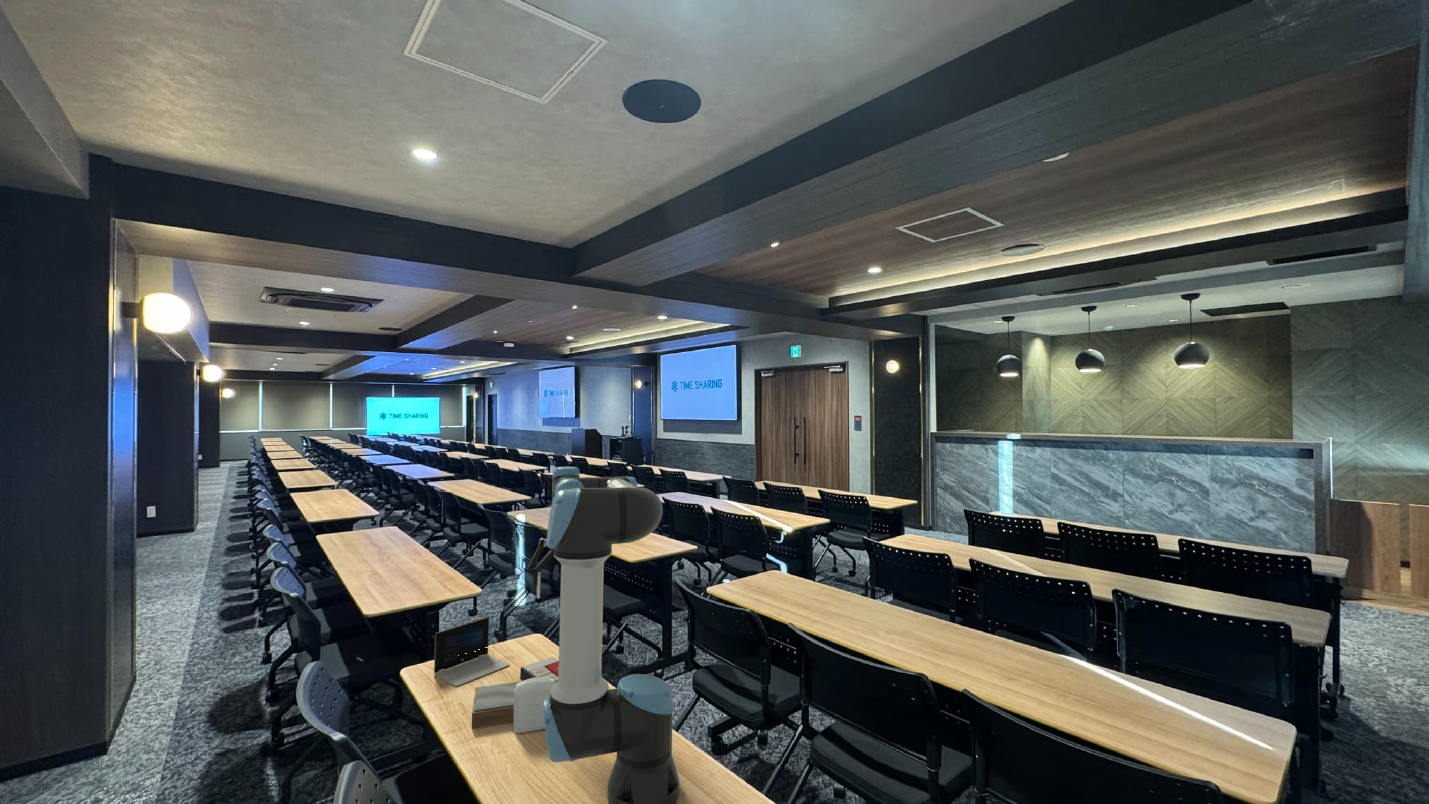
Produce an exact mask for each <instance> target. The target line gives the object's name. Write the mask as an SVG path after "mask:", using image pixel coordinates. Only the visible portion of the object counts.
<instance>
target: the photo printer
mask: <svg viewBox="0 0 1429 804" xmlns="http://www.w3.org/2000/svg"><path fill="white" fill-rule="evenodd" d="M521 681H522V682H521ZM521 681H519V682H520V683H518V684H516V688H515V692H514V723H513V732H514V734H521V733H529V732H535V731H539V730H545V721H544V712H543V700H544V699H547V698H548V697H549V698H550V691H551V688H552V686H553V685H554V684H555V683H554V679H552V678H547V677H538V678H531V679H527V680H524V681H523V680H521Z"/></svg>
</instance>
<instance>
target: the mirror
mask: <svg viewBox="0 0 1429 804" xmlns="http://www.w3.org/2000/svg"><path fill="white" fill-rule="evenodd" d="M522 681H523V680H521V681H515V682H508V683H500V684H493V685H492V684H491V685H484V686H477V687H475V688H474V689H475V690H474V698H473V705H472V712H471V730H475V729H476V730H477V729H482V728H488V727H494V726H495V727H496V726H502V725H508V724H514V692H515V688H516V684H518V683H520V682H522Z"/></svg>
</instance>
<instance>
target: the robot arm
mask: <svg viewBox="0 0 1429 804" xmlns="http://www.w3.org/2000/svg"><path fill="white" fill-rule="evenodd" d="M551 480H552V482H551V483H552V488H551V489H552V490H551V491H552V493H551V498H552V499H551V507H550V511H549V512H550V513H549V518H548V525H547V536H546V538H544V537H540V538H539V540H538V541H539V542H538V546H537V549H535V552H534V554H533V556H532V557H531V560H530V561H529V564H528V565H527V567H526V572H527V573H528V574H532V584H533V587H536V599H540V598H541V571H542V569H543V568H545V566H546V565H547V563H548V562H549V561H550V560H551V559H552V558H553V557H554V558H555V559H556V560H557V561H558V562H559V564H560V566H561V567H560V599H559V601H560V602H559V641H558V642H559V643H558V646H559V647H558V661H559V676H558V681H557V682H556V683H555V684H554V685H553V686H552V688H551V691H550V698H549V697H548V698H547V699H544V700H543V712H544V721H545V729H544V731H545V739H546V747H547V748H546V749H547V756H548V758H549V760H550V761H552V762H553V763H562V762H563V763H564V762H574V761H577V760H582V759H587V758H593V757H597V756H599V757H600V756H603V755H608V754H613V753H616V758H615V760H614V764H613V767H612V769H611V772H610V775H609V779H608V782H607V788H606V789H607V794H606V798H607V801H608V804H674V803H676V802H677V801H676V800H678V799H677V798H679V795H680V778H679V774H678V770H677V767H676V765H675V764H676V763H675V761H674V757H673V751H672V750H673V747H672V745H673V717H674V716H673V714H674V713H673V712H674V708H675V707H674V703H673V701H674V700H673V699H674V698H673V690H672V688H671V686H670V685H669V683H667V681H665V680H664V679H662V678H660V677H657V676H654V675H650V674H643V673H642V674H640V673H636V674H635V673H634V674H633V673H631V674H629V675H626V676H623V677H622V678H620V679H619V681H618V683H617V686H616V688H611V689H610V688H609V682H608V681H607V680H606V679H605V678H603V676H602V662H603V661H602V659H603V658H602V657H603V620H604V619H603V615H604V612H603V610H604V576H605V575H604V573H605V572H604V570H605V569H604V566H605V562H606V561H607V559H608V558H610V557H611V555H612V553H613V551H612V547H613V545H619V544H620V545H621V544H629V543H630V544H631V543H633V542H637V541H640V540H642V539H644V538H646V537H647V536H649V535H650V534H652V533H653V531H655V530H656V529H657V528H658V526H659V524H660V522H661V520H662V517H663V510H664V509H663V503H662V501H661V499H660V497H659V496H658V495H657V494H656V493H655V492H654V491H652V490H651V489H649V488H647V487H642V486H638V482H637V479H636V478H635V477H633V476H626V475H625V476H624V475H622V476H604V477H600V476H599V477H598V476H594V477H593V476H592V477H591V476H590V477H589V476H587V477H583V476H582V477H581V476H580V468H578V467H577V466H557V467H555V468H553V470H552V477H551ZM546 547H547V548H549V551H548V552H547V553H546V554H545V555H544V556H543V558H542V559H540V562H539V563H538V564H537V565H536V563H537V561H538V560H539V558H540V555H541V554H542V552H543V550H544V548H546ZM535 565H536V566H535Z"/></svg>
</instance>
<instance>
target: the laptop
mask: <svg viewBox="0 0 1429 804" xmlns="http://www.w3.org/2000/svg"><path fill="white" fill-rule="evenodd" d="M489 625H490V617H489V616H486V617H483V618H480V619H477V620H474V621H471V622H467V623H464V624H461V625H457V626H454V627H451V628H447V629H444V630H441V631H438V632H435V635H434V637H435V638H434V658H433V659H434V663H433V664H434V666H433V667H434V668H433V669H434V670H433V674H434V677H436V678H438V679H439V680H441V681H443V682H446V683H448V684H449V685H451V686H455V687H460V686H462V685H464V684H467V683H470V682H471V681H474V680H478V679H479V678H482V677H485V676H487V675H490V674H492V673H494V672H497V671H499V670H502V669H504V668H506V667H509V666H510V665H511V664H510V663H507V662H506V661H503V660H501V659H499V658H497V657H494V656H493V655H490V654H489V635H490V634H489V633H490V632H489V631H490V629H489V628H490V627H489ZM485 647H488V648H485ZM478 649H480V650H478ZM474 651H476V652H474ZM465 653H467V654H465ZM458 655H459V656H458Z"/></svg>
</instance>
